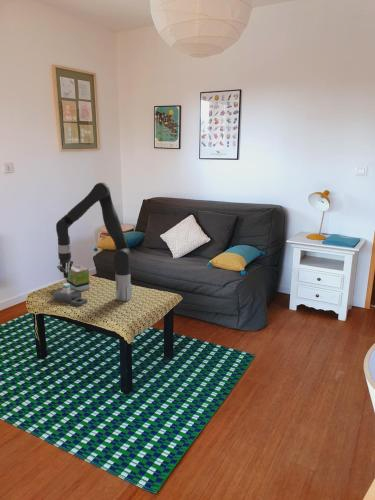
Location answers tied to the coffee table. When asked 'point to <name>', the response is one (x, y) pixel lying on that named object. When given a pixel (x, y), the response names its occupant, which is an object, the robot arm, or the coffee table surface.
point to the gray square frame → (78, 302)
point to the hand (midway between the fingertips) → (66, 277)
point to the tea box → (78, 278)
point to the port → (66, 295)
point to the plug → (66, 288)
